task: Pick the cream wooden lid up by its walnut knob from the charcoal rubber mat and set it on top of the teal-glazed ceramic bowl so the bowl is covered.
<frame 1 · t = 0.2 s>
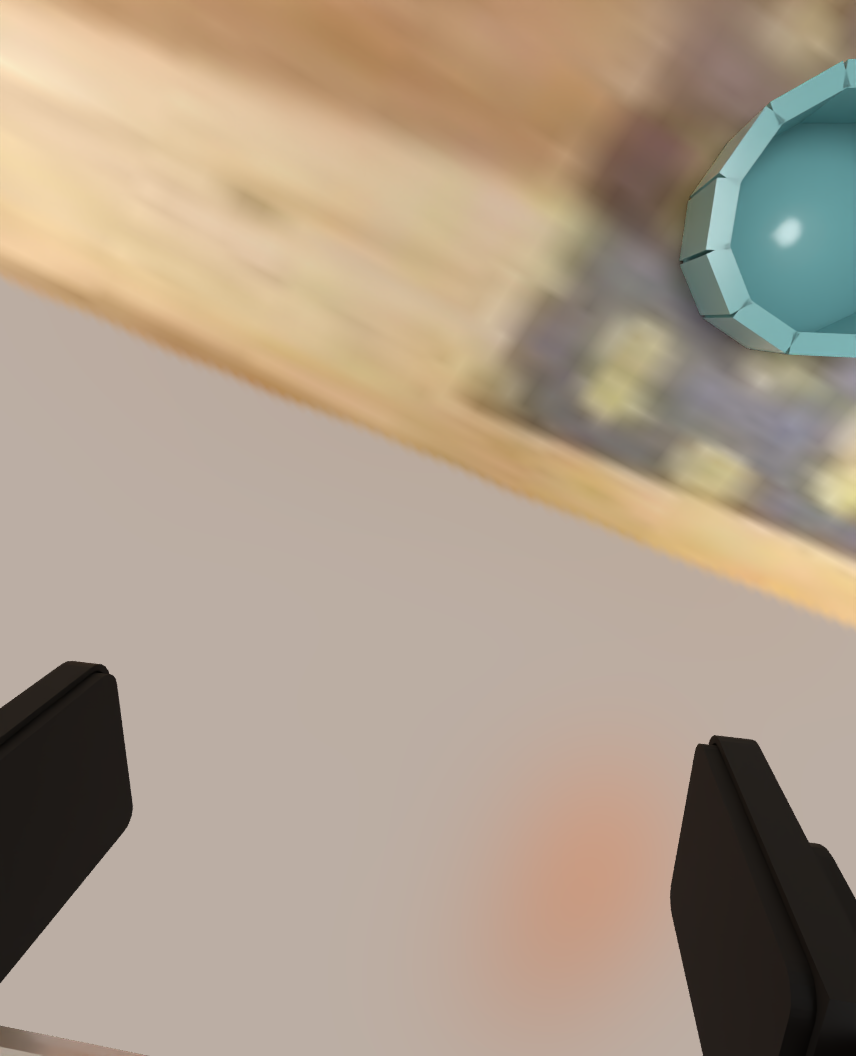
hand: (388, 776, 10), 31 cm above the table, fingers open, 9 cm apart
bowl: (800, 233, 34), on the table
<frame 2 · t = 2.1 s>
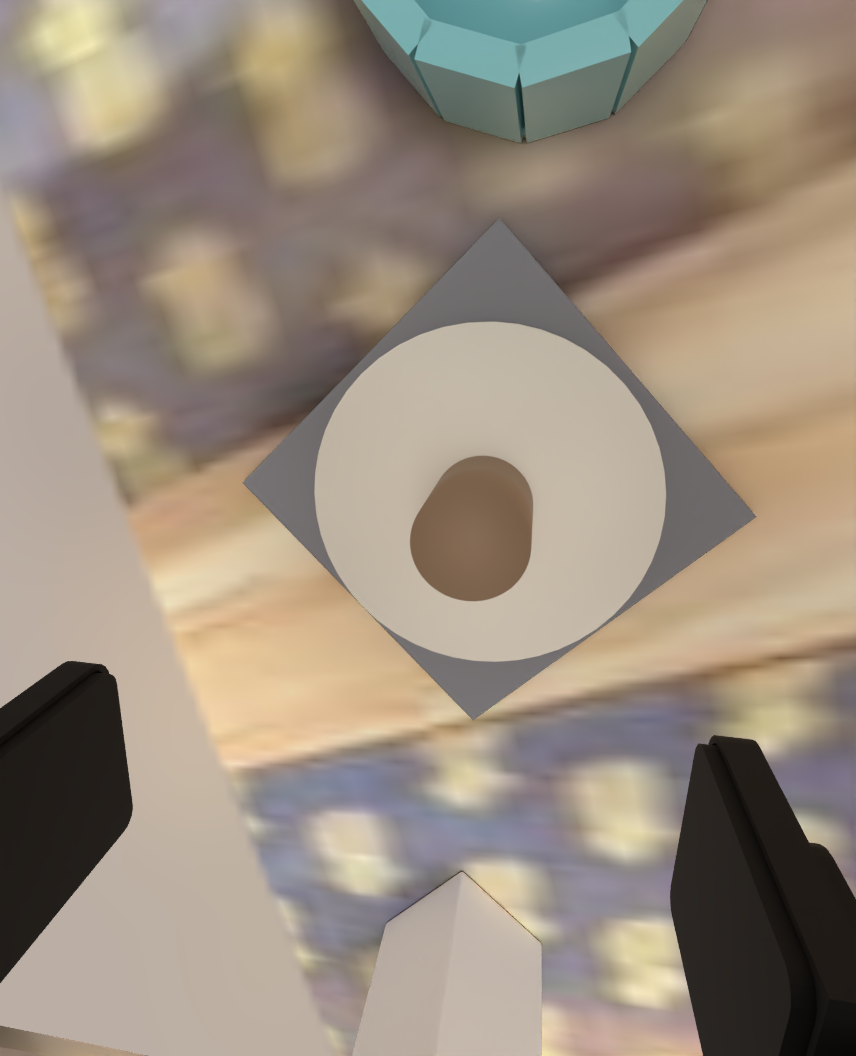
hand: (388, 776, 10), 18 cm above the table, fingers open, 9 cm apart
mat: (485, 495, 28), on the table
lid: (484, 498, 27), resting on mat
milk: (462, 929, 35), on the table
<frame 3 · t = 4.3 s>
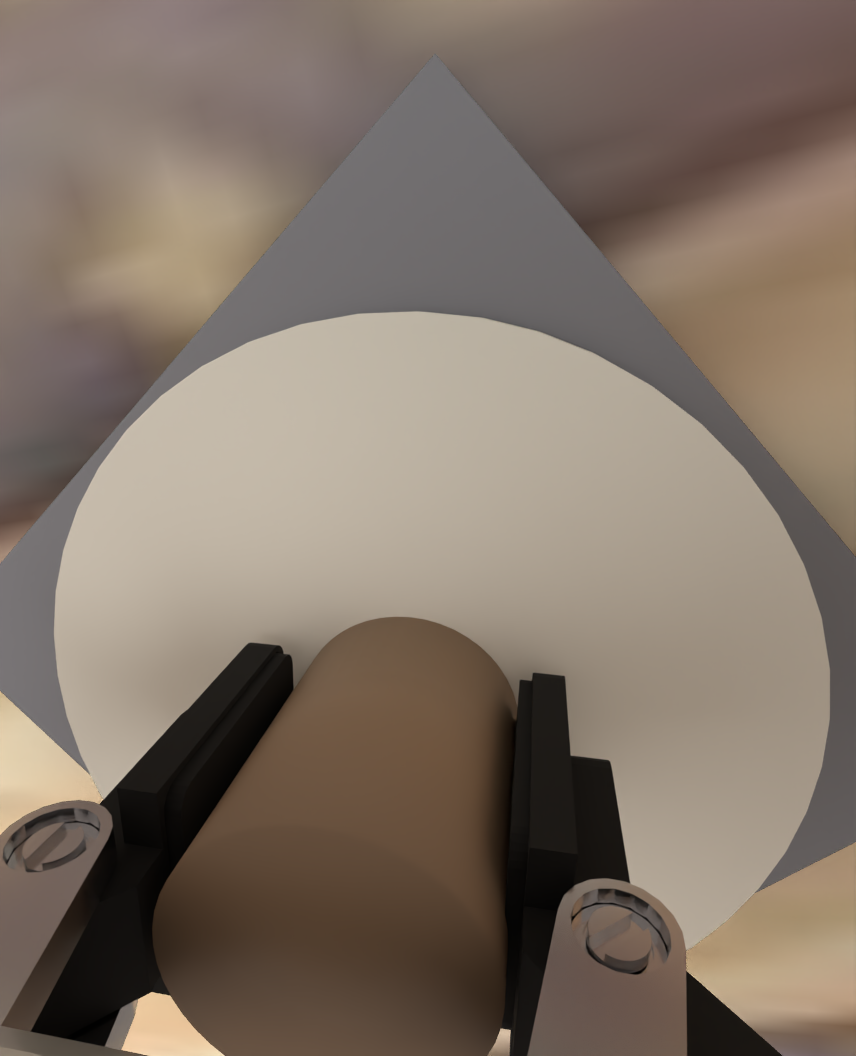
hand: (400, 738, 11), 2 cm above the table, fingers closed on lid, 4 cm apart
mat: (421, 675, 13), on the table
lid: (417, 688, 13), resting on mat, touching gripper
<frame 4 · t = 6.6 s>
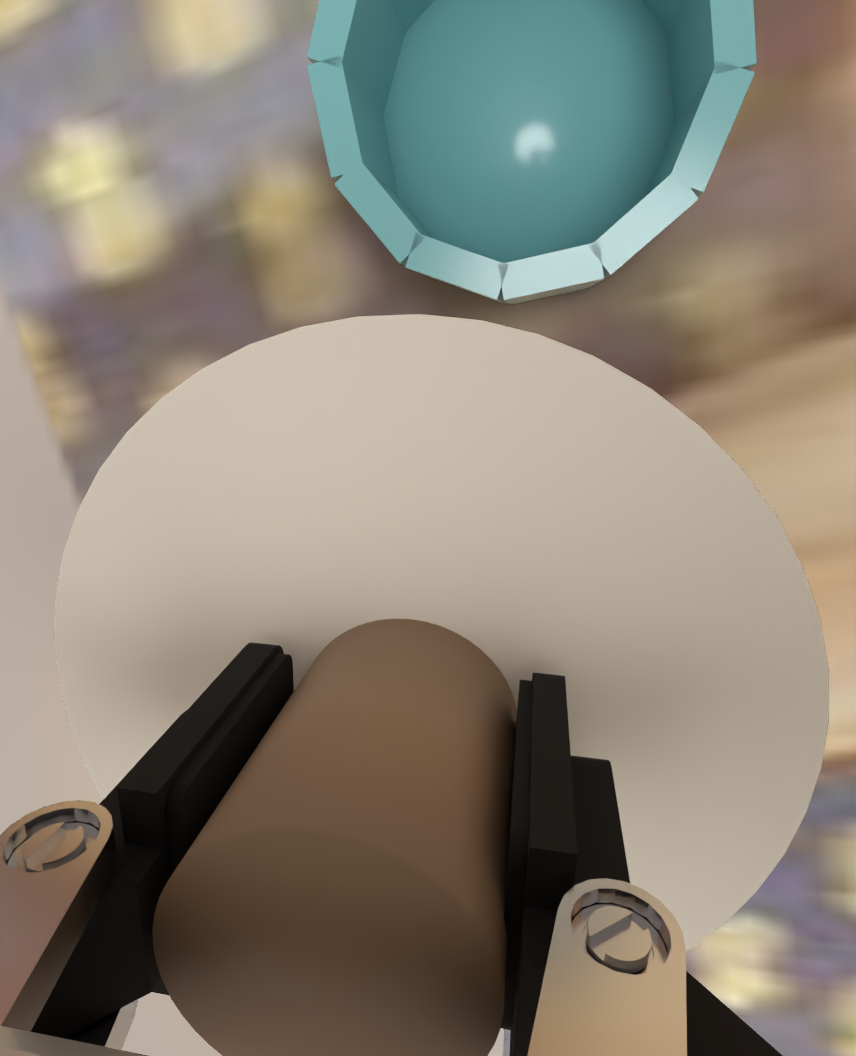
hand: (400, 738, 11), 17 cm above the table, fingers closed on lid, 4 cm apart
bowl: (525, 126, 23), on the table
lid: (417, 690, 13), point 16 cm above the table, touching gripper
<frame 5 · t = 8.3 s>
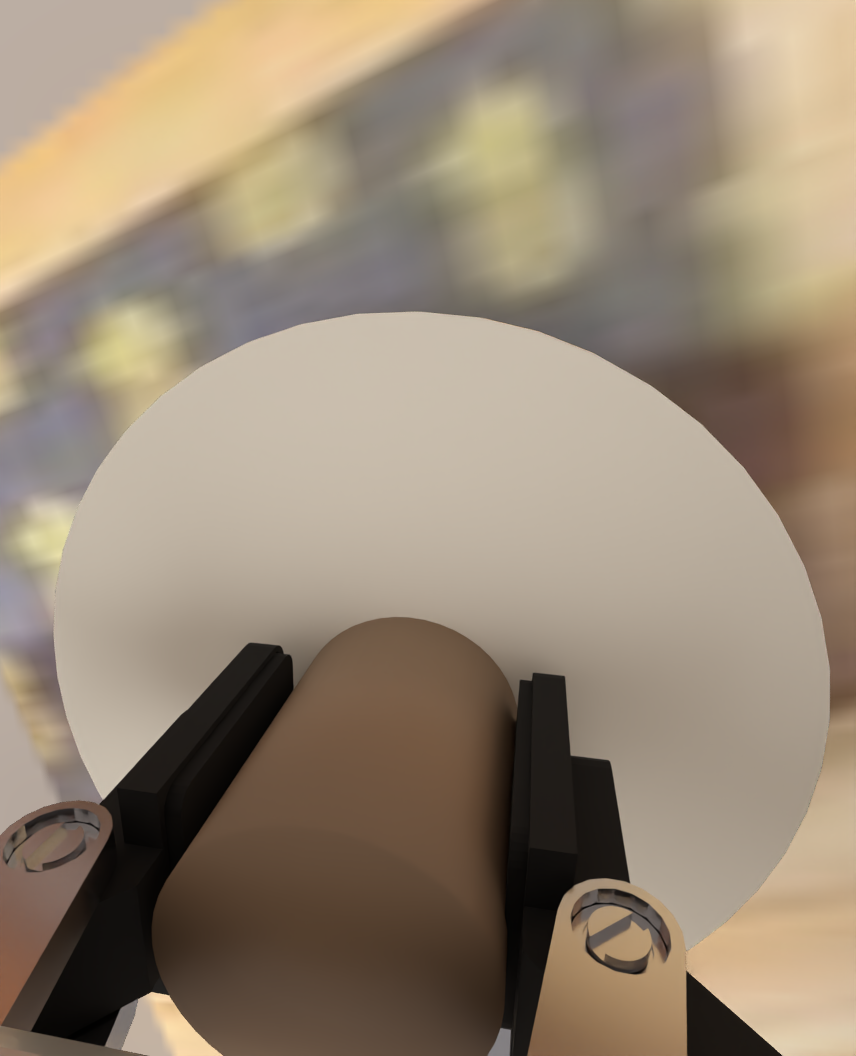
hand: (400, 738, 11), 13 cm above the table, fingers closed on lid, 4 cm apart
mat: (442, 933, 29), on the table
lid: (417, 689, 13), point 11 cm above the table, touching gripper
when the fingers open (9 cm above the table, at t = 9.3 s): lid stays where it is, resting on bowl.
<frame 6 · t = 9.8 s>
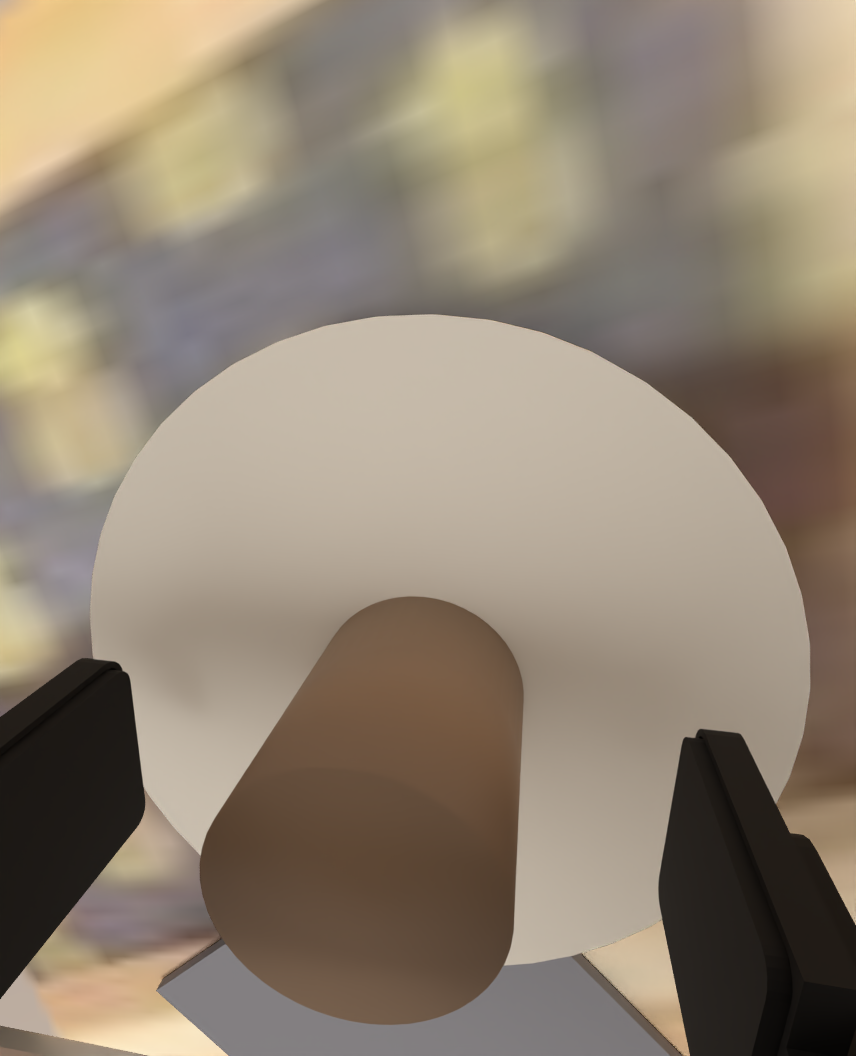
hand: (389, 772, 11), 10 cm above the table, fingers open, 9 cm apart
mat: (418, 1027, 25), on the table
lid: (428, 665, 14), point 6 cm above the table, touching bowl
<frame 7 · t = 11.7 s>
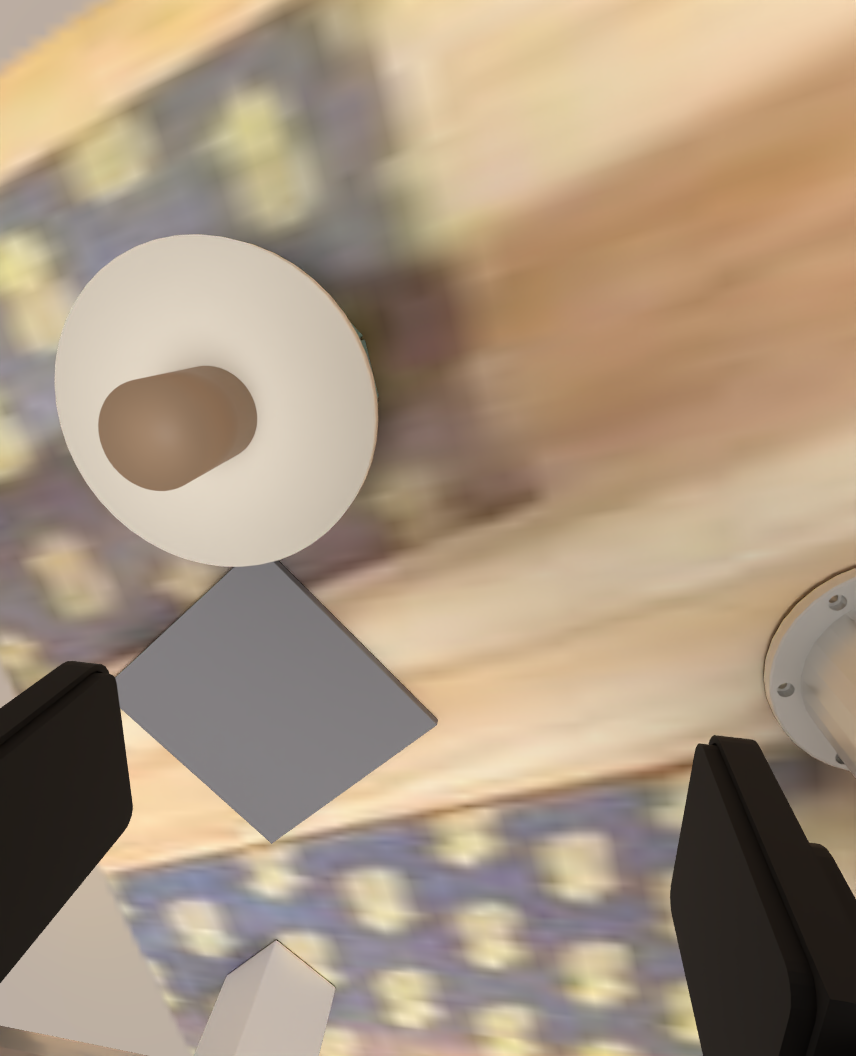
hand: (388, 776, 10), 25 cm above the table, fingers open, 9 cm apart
mat: (267, 702, 41), on the table
lid: (221, 410, 29), point 6 cm above the table, touching bowl
milk: (281, 978, 49), on the table
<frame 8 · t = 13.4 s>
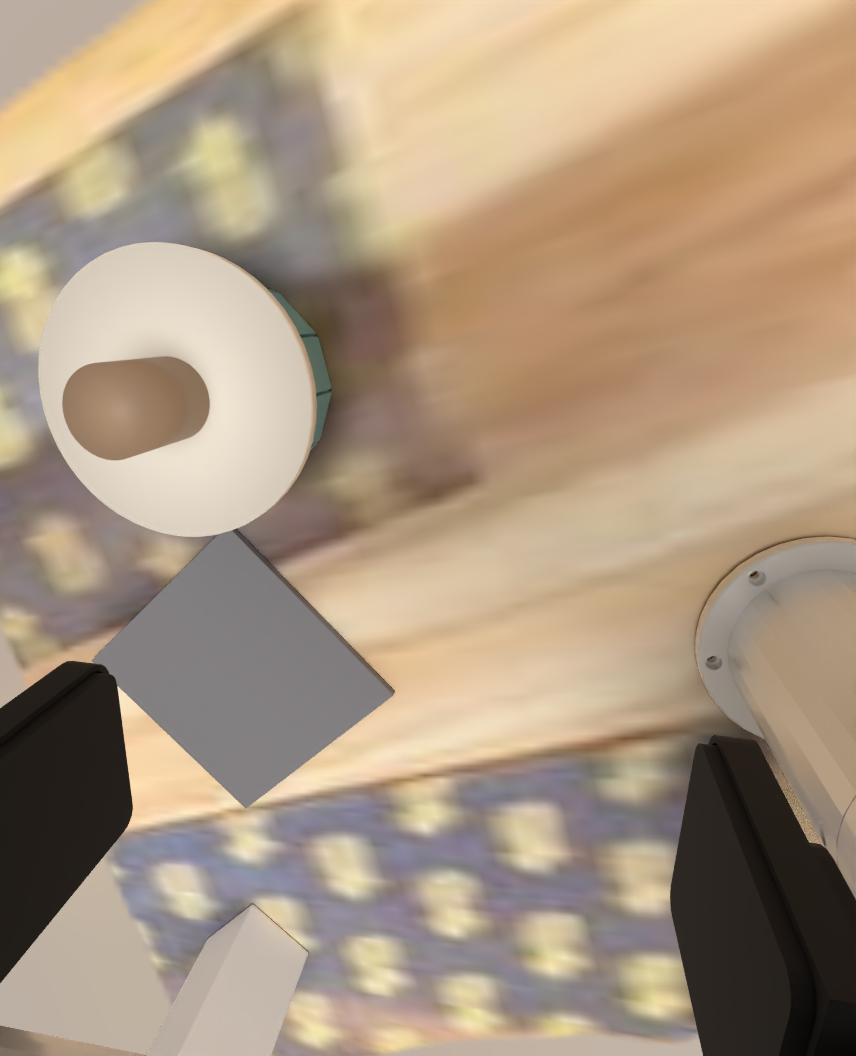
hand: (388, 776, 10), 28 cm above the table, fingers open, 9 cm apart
mat: (240, 673, 44), on the table
bowl: (233, 385, 38), on the table, touching lid
lid: (181, 396, 33), point 6 cm above the table, touching bowl
milk: (259, 942, 52), on the table
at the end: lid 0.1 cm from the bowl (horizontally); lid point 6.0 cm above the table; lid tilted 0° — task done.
